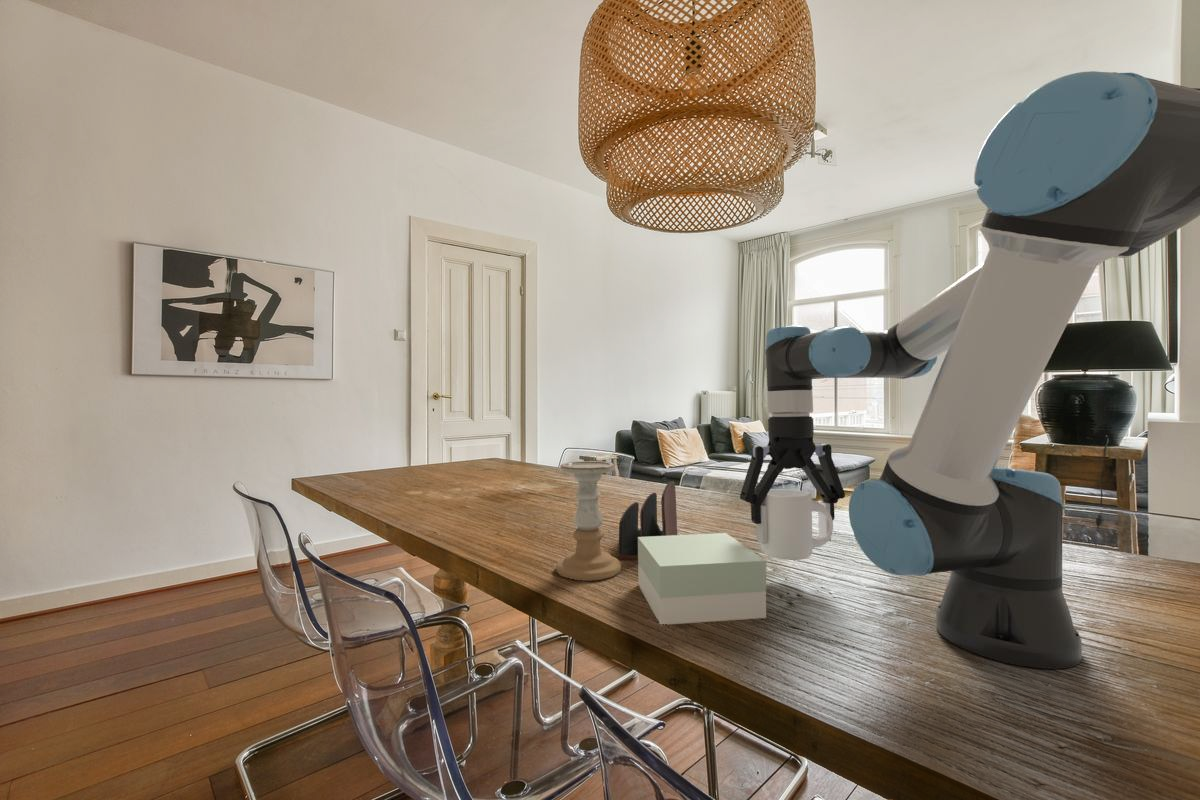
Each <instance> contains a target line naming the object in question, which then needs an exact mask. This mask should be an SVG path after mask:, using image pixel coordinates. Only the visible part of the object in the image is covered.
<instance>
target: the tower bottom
mask: <svg viewBox="0 0 1200 800" xmlns="http://www.w3.org/2000/svg"><path fill="white" fill-rule="evenodd" d="M637 566H638V567H637V568H638V571H637V572H638V574H637V575H638V576H637V578H638V588H640V590H641V592H642V594H643V596H644V598H645V599H646V601H647V603H648V605H649V607H650V609H651V611H652V612H653V614H654V616H655V618H656V620H657V619H658V620H657V621H659V622H658V623H659V625H660V624H661V625H660V626H664V625H665V624H667V625H680V624H681V625H682V624H694V623H695V624H696V623H709V622H710V623H711V622H725V621H738V620H739V621H741V620H752V619H753V620H756V619H767V590H766V591H761V592H744V593H728V594H712V595H696V596H679V597H663V598H660V596H659V595H658V593H657V592H656V590H655V588H654V587H653V585H652V584H651V582H650V581H649V579H648V578H647V576H646V574H645V573H644V571H643V570H642V568H641V567H640V565H639V563H638V562H637ZM662 624H664V625H662ZM665 626H666V625H665Z"/></svg>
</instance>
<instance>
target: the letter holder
mask: <svg viewBox="0 0 1200 800" xmlns="http://www.w3.org/2000/svg"><path fill="white" fill-rule="evenodd" d="M676 494H677V493H676V483H675V480H670V481H669V482H667V483H666V485H665V487H664V489H663V491H662V494H661V500H660V504H661V524H662V526H661V527H662V528H660V526H659V524H658V506H657V505H658V498H657V496H658V494H657V493H656V492H652V493H650V494H649V495H648V496H647V497H646V499H645V500H644V502H643V504H642V506H641V508H640V506H639V503H638V502H637V501H635V502H633V503H631V504H630V505H629V506H628V507H627V508H626V510H625V511H624V512H623V514H622V516H621V517H620V520H619V523H618V558H617V559H618V560H626V559H627V560H629V561H638V537H649V536H671V535H678V521H677V520H678V519H677V518H678V517H677V495H676ZM639 509H640V513H639ZM639 519H640V521H639ZM639 522H640V525H639ZM639 526H640V529H639ZM661 529H662V530H661Z"/></svg>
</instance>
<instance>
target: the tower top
mask: <svg viewBox="0 0 1200 800" xmlns="http://www.w3.org/2000/svg"><path fill="white" fill-rule="evenodd" d="M638 563H639V565H640V567H641V568H642V570H643V571H644V573H645V574H646V576H647V578H648V579H649V581H650V582H651V584H652V585H653V587H654V588H655V590H656V592H657V593H658V595H659V596H660V598H663V597H679V596H696V595H712V594H728V593H744V592H761V591H766V592H767V560H766V559H764V558H763V557H761V556H760V555H759V554H757V553H756V552H754V551H753V550H751V549H750V548H749V547H747V546H745V545H744V544H743V543H741V542H740V541H738V540H737V539H735V538H734V537H732V536H731V535H730V534H728V533H727V532H717V533H715V532H714V533H696V534H677V535H671V536H649V537H638V560H637V564H638Z"/></svg>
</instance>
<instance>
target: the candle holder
mask: <svg viewBox="0 0 1200 800" xmlns="http://www.w3.org/2000/svg"><path fill="white" fill-rule="evenodd" d="M559 468H560V471H561V472H563V473H566V474H573V475H572V476H573V477H574V479H575V480H576V481H577V483H578V490H577V491H576V492H575V493H574V497H575V498H576V499H577V505H576V506H577V507H576V510H575V514H574V517H573V524H574V525H575V527H576V528H575V531H574V532H573V533H572V537H573V538H574V539H575V541H576V548H575V551H572V552H570V553H568V554H567V555H566V556H564V557H562V558H561V559H559V560H558V561H557V563H556V567H555V568H556V572H557V574H558V575H559V576H561V577H563V578H566V579H568V578H569V579H568V580H572V579H574V580H573V581H580V580H581V581H582V582H583V581H585V582H588V581H589V582H590V581H591V582H593V580H594V581H601V580H607V579H609V578H613V577H614V576H617V575H618V574H619V573H620V572H621V569H622V564H621V561H620V559H619V558H617V557H615V556H612V555H611V554H610V553H609V552H607V551H603V550H602V548H601V540H602V539H603V537H604V535H605V534H604V531H602V529H601V528H600V527H601V525H602V524H603V516H602V513H601V510H600V505H599V499H600V498H601V496H602V494H601V492H600V491H599V490H598V487H597V485H598V481H600V479H601V478H602V474H606V473H610V472H613V471H614V470H615V469H616V465H615V463H613V462H610V461H601V460H600V461H599V460H598V461H597V460H584V461H583V460H582V461H581V460H580V461H570V462H564V463H561V464H560V466H559Z"/></svg>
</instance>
